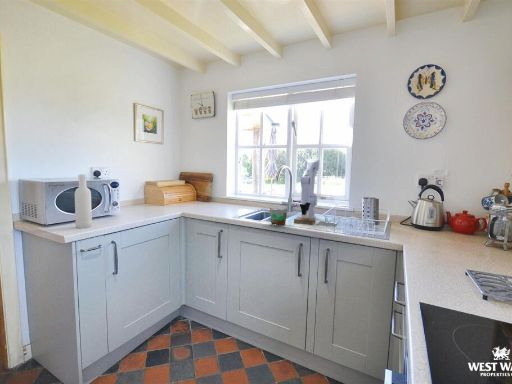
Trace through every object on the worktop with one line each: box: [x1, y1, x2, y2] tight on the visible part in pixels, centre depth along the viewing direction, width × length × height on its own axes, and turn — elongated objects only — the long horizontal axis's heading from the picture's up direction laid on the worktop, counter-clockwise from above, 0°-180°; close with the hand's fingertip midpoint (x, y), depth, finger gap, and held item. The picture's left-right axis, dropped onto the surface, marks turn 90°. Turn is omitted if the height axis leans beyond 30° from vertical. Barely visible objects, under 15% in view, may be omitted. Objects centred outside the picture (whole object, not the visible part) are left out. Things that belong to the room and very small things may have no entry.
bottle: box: [74, 174, 93, 229], centre depth 148 cm, size 8×8×30 cm
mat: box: [316, 220, 338, 227], centre depth 172 cm, size 14×12×1 cm
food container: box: [269, 207, 289, 226], centre depth 166 cm, size 12×6×10 cm, turn 62°
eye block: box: [293, 216, 316, 225], centre depth 176 cm, size 12×12×2 cm
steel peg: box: [300, 210, 308, 219], centre depth 176 cm, size 3×4×8 cm
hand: (304, 214), depth 175 cm, fingers open, 7 cm apart
